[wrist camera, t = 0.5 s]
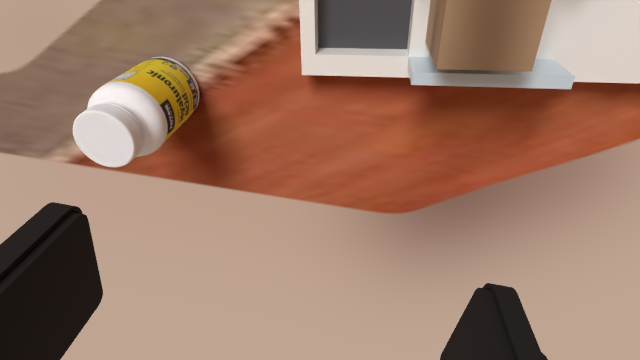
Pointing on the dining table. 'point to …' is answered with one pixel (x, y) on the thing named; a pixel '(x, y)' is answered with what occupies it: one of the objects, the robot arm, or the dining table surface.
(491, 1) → the walnut block
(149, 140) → the supplement bottle
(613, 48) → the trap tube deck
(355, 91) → the dining table surface
